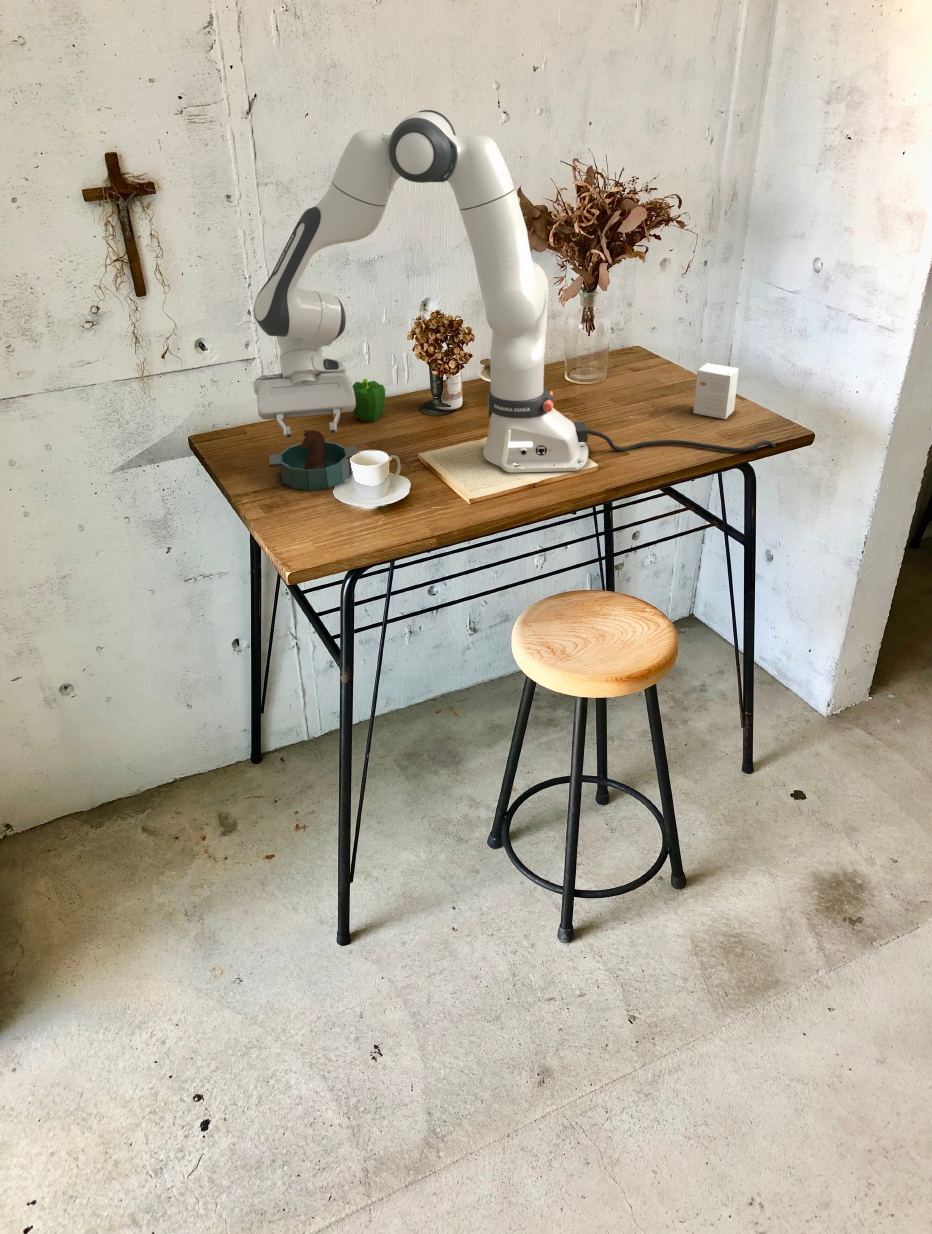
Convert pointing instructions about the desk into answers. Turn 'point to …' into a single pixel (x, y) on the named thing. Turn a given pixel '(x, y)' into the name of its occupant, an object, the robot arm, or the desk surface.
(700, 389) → the small box
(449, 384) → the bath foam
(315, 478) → the cooking pot
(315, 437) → the chess piece
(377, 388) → the bell pepper
